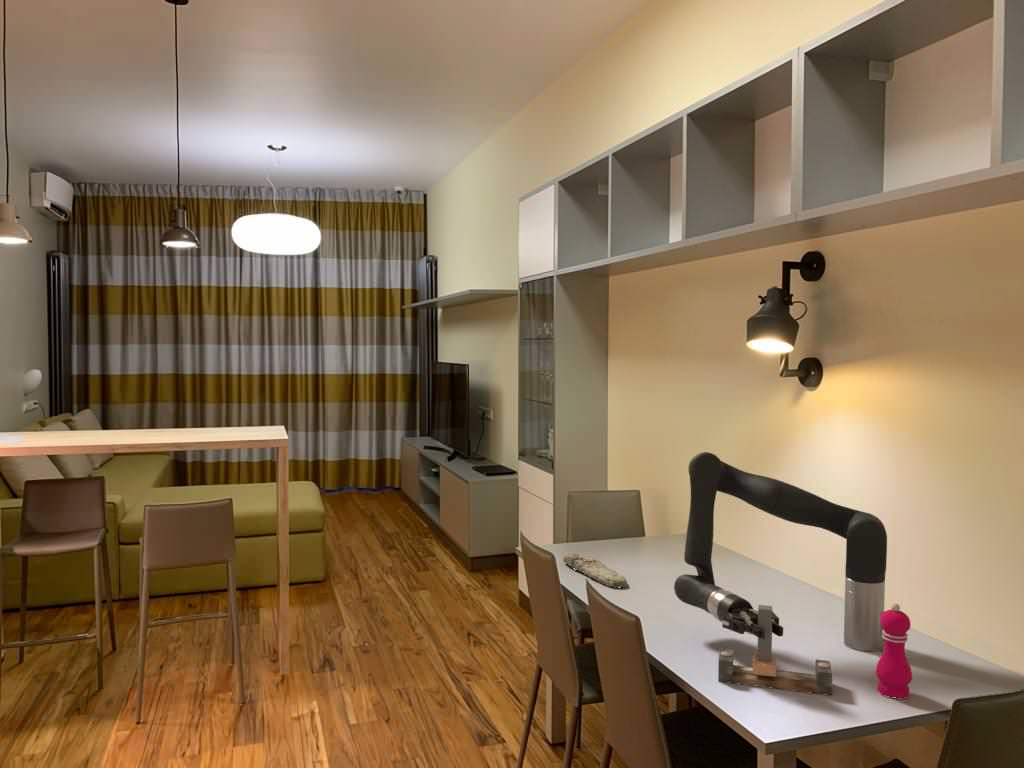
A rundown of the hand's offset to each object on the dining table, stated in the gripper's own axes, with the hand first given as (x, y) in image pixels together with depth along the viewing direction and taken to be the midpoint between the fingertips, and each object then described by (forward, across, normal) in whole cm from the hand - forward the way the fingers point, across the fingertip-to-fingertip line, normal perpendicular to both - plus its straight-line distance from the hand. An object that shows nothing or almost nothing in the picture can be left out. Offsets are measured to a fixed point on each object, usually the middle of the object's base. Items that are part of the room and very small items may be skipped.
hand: (772, 633), depth 178 cm
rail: (-2, +2, +12) cm, 12 cm away
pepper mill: (+11, +23, +12) cm, 29 cm away
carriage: (-3, 0, +9) cm, 10 cm away
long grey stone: (-91, -4, +12) cm, 92 cm away
